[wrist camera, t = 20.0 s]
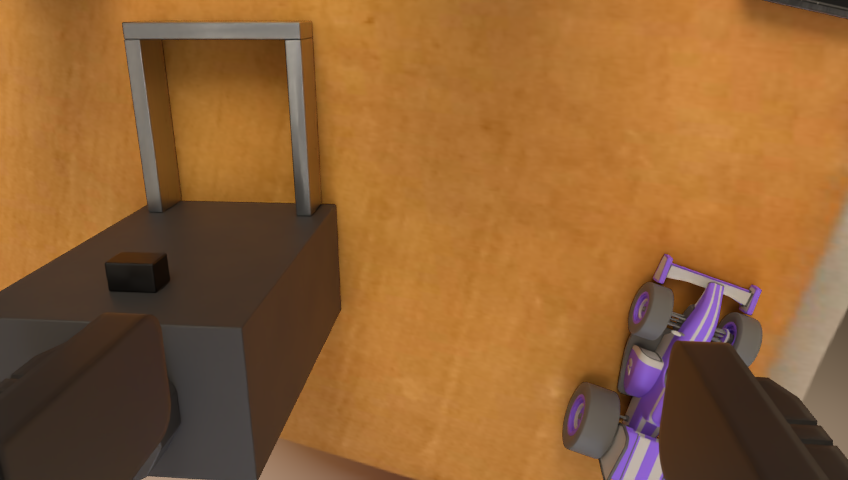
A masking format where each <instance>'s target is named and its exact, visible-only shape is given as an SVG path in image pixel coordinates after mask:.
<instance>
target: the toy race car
mask: <svg viewBox="0 0 848 480" xmlns="http://www.w3.org/2000/svg"><path fill="white" fill-rule="evenodd" d="M672 261H673V258H672V257H671V256H670V255H667V254H664V256H663V258H662V260H661V262H660V264H659V266H658V268H657V270H656V272H655V274H654V276H653V280H655V281H656V282H658V283H661V284H663V283H664V281H665V279H666V278H672V279H677V280H682V281H686V282H689V283H692V284H695V285H698V286H701V287H704V288H706V289H705V290H704V292H703V294H702V295H701V297H700V298H699V300H698V301H697V303H696V304H692V305H689V307H688V308H687V309H686V310H685V312H684V313H683V314H682V315H681V314H678V313H675V312H672V311H673V305H674V296H673V292H672V290H671V289H669V288H667V287H664V286H661V285H658V284H655V283H652V282H647V283H645V284H644V285H643V286H642V287H641V288H640V289H639V291H638V292H637V294H636V296H635V298H634V300H633V303H632V305H631V309H630V312H629V318H628V328H629V331H630V332H631V334H630V336H629V338H628V340H627V343H626V346H625V350H624V355H623V360H622V365H621V370H620V375H619V380H618V391H619V392H621V393H623V394H625V395H628V396H631V397H632V399H631V402H630V404H629V407H628V409H627V412H626V415H625V416H622V415H620V400H619V396H618V395H617V393H616V392H614V391H611V390H608V389H605V388H602V387H600V386H597V385H594V384H591V383H588V382H583V383H582V384H580V385H579V386H578V388H577V389H576V390H575V392H574V394H573V396H572V398H571V400H570V402H569V405H568V407H567V410H566V414H565V418H564V423H563V432H562V437H563V444H564V446H565V448H567V449H569V450H572V451H574V452H577V453H580V454H583V455H586V456H589V457H592V458H595V459H599V463H600V467H601V471H602V476H603V480H611V479H613V480H665V478H664V476H663V473H662V469H661V464H660V457H659V439H656V437H657V436H658V435H659V429H660V421H661V414H662V407H663V400H664V393H665V386H666V379H667V371H668V364H669V357H670V352H671V349H672V346H673V344H674V343H675V341H677V340H679V341H701V342H711V340H713V341H712V342H722V343H729V344H731V345H732V346H733V347H734V349H735V350H736V352H737V353H738V354H739V356H740V357H741V358H742V360H743V361H744V363H745V364H746V365H747V367H749V366H750V365H751V364H752V362H753V361H754V360H755V358H756V356H757V354H758V352H759V349H760V346H761V342H762V327H761V325H760V323H759V321H758V320H756V319H754V318H751V317H748V316H746V315H743V314H740V313H737V312H732V313H729V314H728V315H726V316H725V317H724V318H723V319H722V321H721V322H720V323H719V325H718V327H717V323H718V319H719V315H720V309H721V303H722V297H723V295H726V296H729V297H731V298H732V299H734V300H735V301H736V302H738V303H739V304H740V307H739V310H740V311H742V312H744V313H745V314H748V315H752V313H753V311H754V308H755V306H756V303H757V301H758V298H759V296H760V294H761V291H762V290H761V289H760V288H758V287H757V286H755V285H751V287H750V288H749V289H748V290H747V289H744V288H741V287H739V286H736V285H733V284H730V283H727V282H725V281H722V280H719V279H716V278H713V277H710V276H708V275H705V274H702V273H699V272H696V271H694V270H691V269H688V268H685V267H682V266H679V265H677V264H674V263H672ZM672 316H674V317H676V318H679V320H677V319H675V318H672ZM669 320H673V321H676V322H677V323H675V322H672V321H669ZM667 325H670V326H673V330H672V329H669V328H666V327H667ZM713 335H714V336H713ZM619 418H622V419H624V420H623V422H622V423H619Z"/></svg>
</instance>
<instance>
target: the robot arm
mask: <svg viewBox="0 0 848 480" xmlns="http://www.w3.org/2000/svg"><path fill="white" fill-rule="evenodd" d="M170 413H171V398H170V391H169V383H168V375H167V367H166V360H165V352H164V344H163V336H162V330H161V326H160V323H159V321H158V319H157V318H156V317H155V316H154V315H151V314H130V313H109V312H106V313H103V314H101V315H99V316H98V317H97V318H96V319H94V320H93V321H92V322H91V323H89V324H88V325H87V326H86V327H84V328H83V329H82V330H80V331H79V332H78V333H77V334H75V335H74V336H73V337H72V338H70V339H69V340H68V341H67V342H64V343H62V344H60V345H58V346H56V347H54V348H51V349H49V350H47V351H45V352H43V353H40V354H38V355H36V356H34V357H33V358H32V359H30V360H29V361H28V362H27V363H25V364H24V365H23V366H21V367H20V368H19V369H17V370H16V371H15V372H13V373H12V374H11V377H10V379H7V378H6V379H4V380H3V381H2V382H0V480H132V479H133V478H134V477H135V475H136V474H137V473H138V471H139V470H140V469H141V467H142V466H143V465H144V463H145V462H146V461H147V459H148V458H149V457H150V455H151V454H152V453H153V452H154V450H155V449H156V448H157V446H158V445H159V444H160V442H161V441H162V439H163V437H164V435H165V433H166V430H167V427H168V424H169V420H170ZM659 457H660V464H661V469H662V473H663V476H664V478H665V480H848V459H847V458H846V457H845V455H844V454H843V453H842V452H841V451H840V449H839V448H838V447H837V446H833V440H832V439H831V438H830V437H829V436H828V434H827V433H826V432H825V430H824V429H823V428H822V427H821V426H818V425H817V420H816V419H815V418H814V416H812V414H811V413H810V411H809V410H808V409H807V408H806V407H805V405H804V404H803V403H802V401H801V400H800V399H799V398H798V397H797V396H795V395H794V394H792V393H791V392H789V391H787V390H786V389H784V388H783V387H781V386H780V385H778V384H777V383H775V382H774V381H772V380H771V379H769V378H764V377H755V376H754V375H753V374H752V372H751V371H750V369H749V368H748V367H747V365H746V364H745V363H744V361H743V360H742V358H741V357H740V356H739V354H738V353H737V352H736V350H735V349H734V347H733V346H732V345H731V344H729V343H722V342H701V341H679V340H677V341H675V343H674V344H673V346H672V349H671V352H670V357H669V364H668V371H667V379H666V386H665V393H664V400H663V407H662V414H661V421H660V429H659Z"/></svg>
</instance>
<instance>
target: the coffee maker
mask: <svg viewBox="0 0 848 480" xmlns="http://www.w3.org/2000/svg"><path fill="white" fill-rule="evenodd" d="M120 252H145V253H166V254H167V259H168V266H169V274H170V281H169V282H168V283H167V284H166V285H165V286H163V287H162V288H161V289H160V290H159V291H158V292H156V293H146V292H118V291H109V288H108V282H107V276H106V270H105V262H107V261H108V260H110V259H111V258H113V257H114V256H116V255H117V254H119V253H120ZM340 310H341V300H340V278H339V257H338V236H337V214H336V205H335V204H321V205H320V206H319V207H318V208H317V209H316V211H315V212H314V213H313V214H312V215H311V216H297V215H296V203H254V202H211V201H180V202H178V203H177V204H175V205H173V206H172V207H170V208H169V209H167V210H166V211H164V212H162V213H161V212H149V211H148V205H146V206H144V207H143V208H141V209H139V210H138V211H136V212H134V213H133V214H131V215H129V216H127V217H126V218H124V219H122V220H121V221H119V222H117V223H116V224H114V225H112V226H110V227H109V228H107V229H105V230H104V231H102V232H100V233H99V234H97V235H95V236H93V237H92V238H90V239H88V240H87V241H85V242H83V243H82V244H80V245H78V246H77V247H75V248H73V249H71V250H70V251H68V252H66V253H65V254H63V255H61V256H60V257H58V258H56V259H54V260H53V261H51V262H49V263H48V264H46V265H44V266H43V267H41V268H39V269H37V270H36V271H34V272H32V273H31V274H29V275H27V276H26V277H24V278H22V279H20V280H19V281H17V282H15V283H14V284H12V285H10V286H9V287H7V288H5V289H4V290H2V291H0V382H2V381H3V380H4V379H6V378H7V379H10V377H11V374H12V373H13V372H15V371H16V370H17V369H19V368H20V367H21V366H23V365H24V364H25V363H27V362H28V361H29V360H30V359H32V358H33V357H34V356H36V355H38V354H40V353H43V352H45V351H47V350H49V349H51V348H54V347H56V346H58V345H60V344H62V343H64V342H67V341H68V340H69V339H70V338H72V337H73V336H74V335H75V334H77V333H78V332H79V331H80V330H82V329H83V328H84V327H86V326H87V325H88V324H89V323H91V322H92V321H93V320H94V319H96V318H97V317H98V316H99V315H101V314H103V313H106V312H109V313H130V314H151V315H154V316H155V317H156V318H157V319H158V321H159V323H160V326H161V330H162V336H163V344H164V352H165V360H166V367H167V375H168V383H169V391H170V398H171V413H170V420H169V424H168V427H167V430H166V433H165V435H164V437H163V439H162V441H161V442H160V444H159V445H158V446H157V448H156V449H155V450H154V452H153V453H152V454H151V455H150V457H149V458H148V459H147V461H146V462H145V463H144V465H143V466H142V467H141V469H140V470H139V471H138V473H137V474H136V475H135V477H134V478H133V479H132V480H141V479H143V478H145V477H147V476H155V477H172V478H188V479H205V480H258V479H259V477H260V475H261V473H262V471H263V469H264V467H265V464H266V463H267V461H268V458H269V456H270V454H271V452H272V450H273V448H274V446H275V444H276V442H277V440H278V438H279V436H280V434H281V432H282V430H283V428H284V426H285V424H286V421H287V419H288V417H289V415H290V413H291V411H292V409H293V407H294V405H295V403H296V401H297V399H298V397H299V395H300V393H301V391H302V389H303V386H304V384H305V382H306V380H307V378H308V376H309V374H310V372H311V370H312V368H313V366H314V364H315V362H316V360H317V358H318V356H319V354H320V351H321V349H322V347H323V345H324V343H325V341H326V339H327V337H328V335H329V333H330V331H331V329H332V327H333V325H334V323H335V321H336V319H337V317H338V314H339V312H340Z"/></svg>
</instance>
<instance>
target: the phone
mask: <svg viewBox="0 0 848 480" xmlns="http://www.w3.org/2000/svg"><path fill="white" fill-rule="evenodd" d="M764 1H769V2H773V3H778V4H782V5H787V6H791V7H796V8H800V9H805V10H809V11H814V12H819V13H823V14H828V15H832V16H837V17H841V18H846V19H848V0H764Z"/></svg>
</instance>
